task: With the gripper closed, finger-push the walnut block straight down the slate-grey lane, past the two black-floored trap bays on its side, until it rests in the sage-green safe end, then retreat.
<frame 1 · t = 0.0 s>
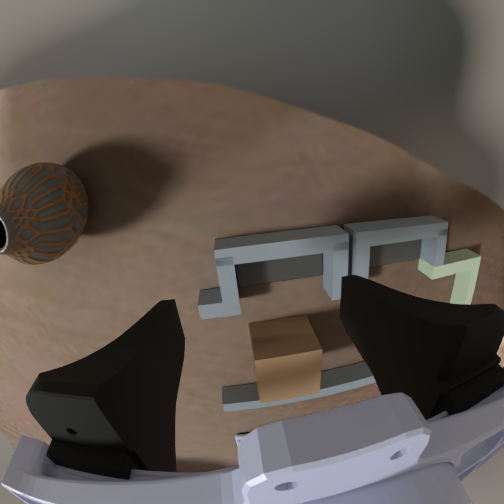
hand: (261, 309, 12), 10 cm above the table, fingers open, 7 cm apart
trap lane: (341, 330, 25), on the table
vase: (65, 202, 19), on the table
walnut block: (278, 341, 25), on the table
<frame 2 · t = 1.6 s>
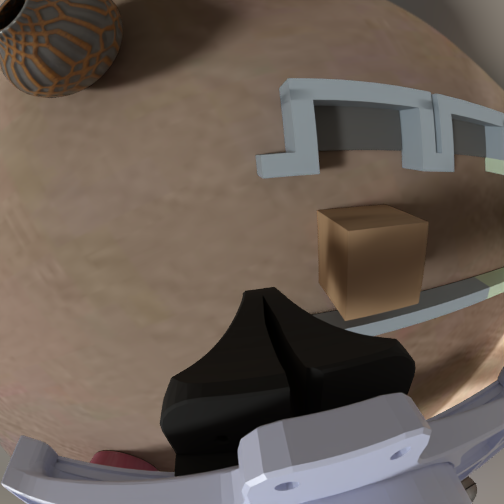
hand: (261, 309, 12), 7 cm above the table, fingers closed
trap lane: (421, 234, 19), on the table
beverage cup: (440, 457, 38), on the table
vase: (88, 56, 13), on the table
plant pot: (127, 465, 26), on the table
walnut block: (352, 243, 19), on the table
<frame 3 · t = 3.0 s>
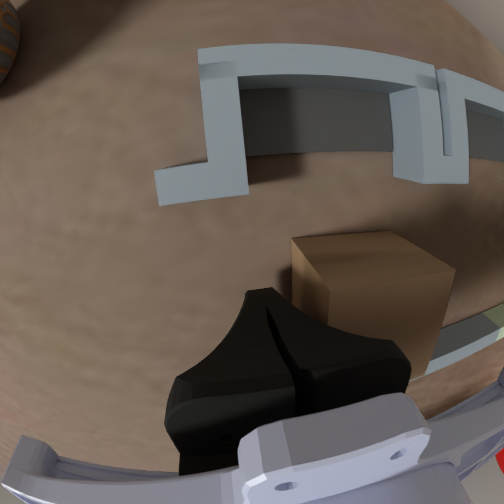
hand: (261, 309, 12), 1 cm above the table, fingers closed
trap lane: (417, 268, 14), on the table
walnut block: (341, 283, 13), on the table, touching gripper
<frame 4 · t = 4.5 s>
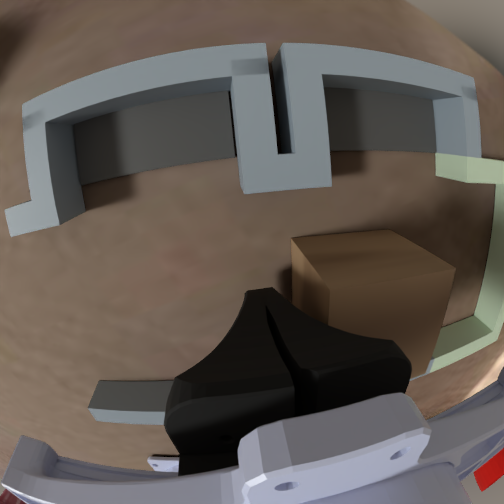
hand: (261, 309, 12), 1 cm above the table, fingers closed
ceramic cup: (491, 431, 29), on the table
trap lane: (294, 289, 13), on the table
plant pot: (53, 478, 21), on the table
walnut block: (341, 282, 13), on the table, touching gripper
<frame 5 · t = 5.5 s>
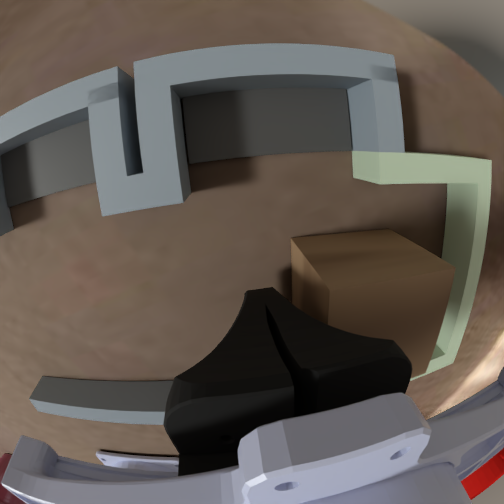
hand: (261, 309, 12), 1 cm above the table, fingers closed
ceramic cup: (475, 443, 29), on the table
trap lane: (187, 303, 13), on the table
plant pot: (29, 469, 21), on the table
walnut block: (341, 282, 13), on the table, touching gripper
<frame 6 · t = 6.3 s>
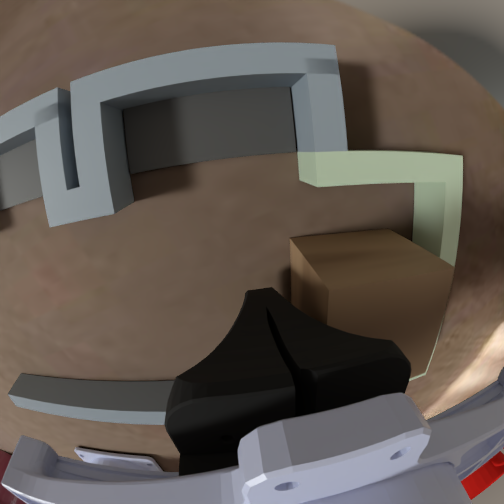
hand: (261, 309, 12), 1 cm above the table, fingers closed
ceramic cup: (466, 448, 29), on the table
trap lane: (138, 307, 13), on the table
plant pot: (20, 465, 21), on the table
walnut block: (340, 282, 13), on the table, touching gripper
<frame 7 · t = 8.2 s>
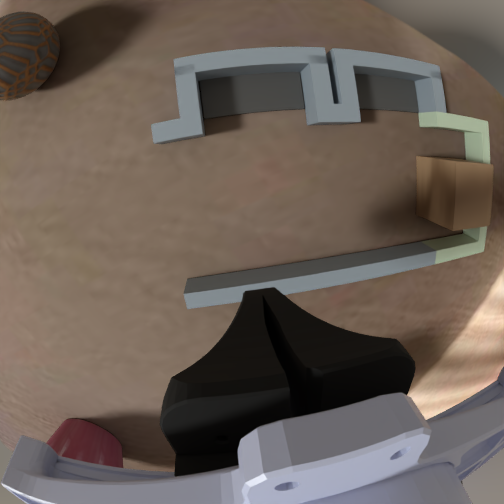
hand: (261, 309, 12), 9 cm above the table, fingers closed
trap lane: (339, 191, 20), on the table
vase: (39, 64, 14), on the table
plant pot: (92, 436, 28), on the table
walnut block: (436, 185, 21), on the table
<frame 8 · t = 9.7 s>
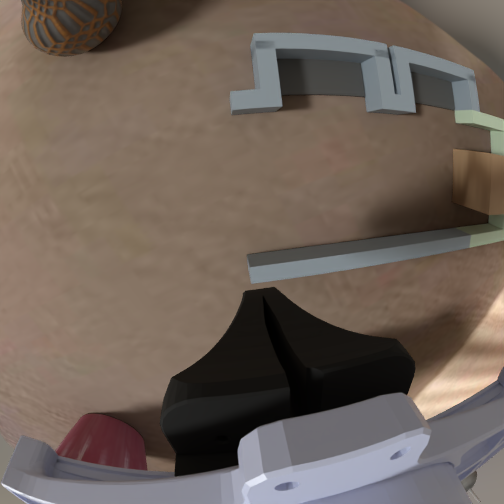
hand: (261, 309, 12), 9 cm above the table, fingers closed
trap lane: (392, 175, 20), on the table
beverage cup: (437, 441, 39), on the table
vase: (92, 27, 14), on the table
plant pot: (111, 432, 28), on the table
walnut block: (468, 176, 21), on the table
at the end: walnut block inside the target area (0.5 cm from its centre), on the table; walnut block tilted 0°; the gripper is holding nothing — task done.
